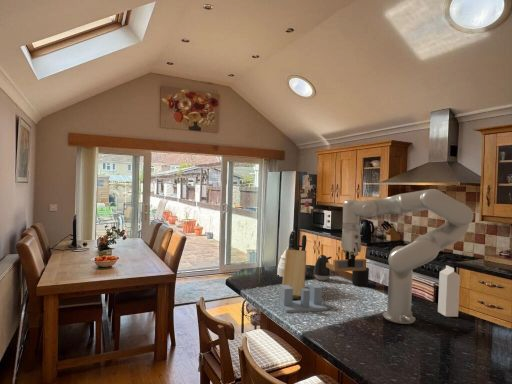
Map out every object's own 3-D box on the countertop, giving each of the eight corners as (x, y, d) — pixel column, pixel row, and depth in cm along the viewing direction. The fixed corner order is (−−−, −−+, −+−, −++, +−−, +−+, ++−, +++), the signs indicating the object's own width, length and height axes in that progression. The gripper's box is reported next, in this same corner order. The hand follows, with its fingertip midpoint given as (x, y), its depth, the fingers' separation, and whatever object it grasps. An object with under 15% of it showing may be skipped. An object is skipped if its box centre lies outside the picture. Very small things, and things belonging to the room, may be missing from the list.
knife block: (305, 282, 197) (307, 230, 197) (303, 302, 162) (306, 239, 162) (286, 280, 199) (288, 229, 199) (280, 300, 164) (282, 237, 164)
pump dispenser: (332, 282, 200) (333, 257, 199) (315, 281, 200) (316, 256, 199) (328, 277, 210) (329, 253, 210) (312, 276, 210) (313, 252, 210)
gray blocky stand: (327, 310, 153) (328, 290, 153) (286, 312, 148) (287, 292, 148) (317, 301, 164) (318, 283, 164) (278, 303, 159) (279, 285, 159)
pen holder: (359, 281, 203) (359, 265, 203) (371, 286, 195) (372, 268, 195) (348, 283, 198) (348, 266, 198) (360, 288, 190) (361, 270, 190)
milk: (449, 312, 157) (452, 265, 157) (458, 317, 151) (460, 268, 151) (437, 311, 157) (439, 264, 157) (445, 316, 151) (447, 268, 150)
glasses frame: (365, 270, 156) (366, 259, 156) (334, 271, 152) (335, 260, 152) (355, 265, 165) (355, 255, 165) (325, 266, 161) (326, 256, 161)
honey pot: (299, 277, 207) (300, 248, 207) (278, 277, 206) (279, 248, 206) (295, 272, 220) (296, 245, 220) (275, 272, 219) (277, 244, 219)
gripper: (367, 228, 148) (366, 270, 149) (349, 224, 164) (348, 262, 164) (352, 229, 147) (351, 270, 147) (335, 225, 162) (334, 262, 162)
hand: (349, 266), depth 155 cm, fingers closed on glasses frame
